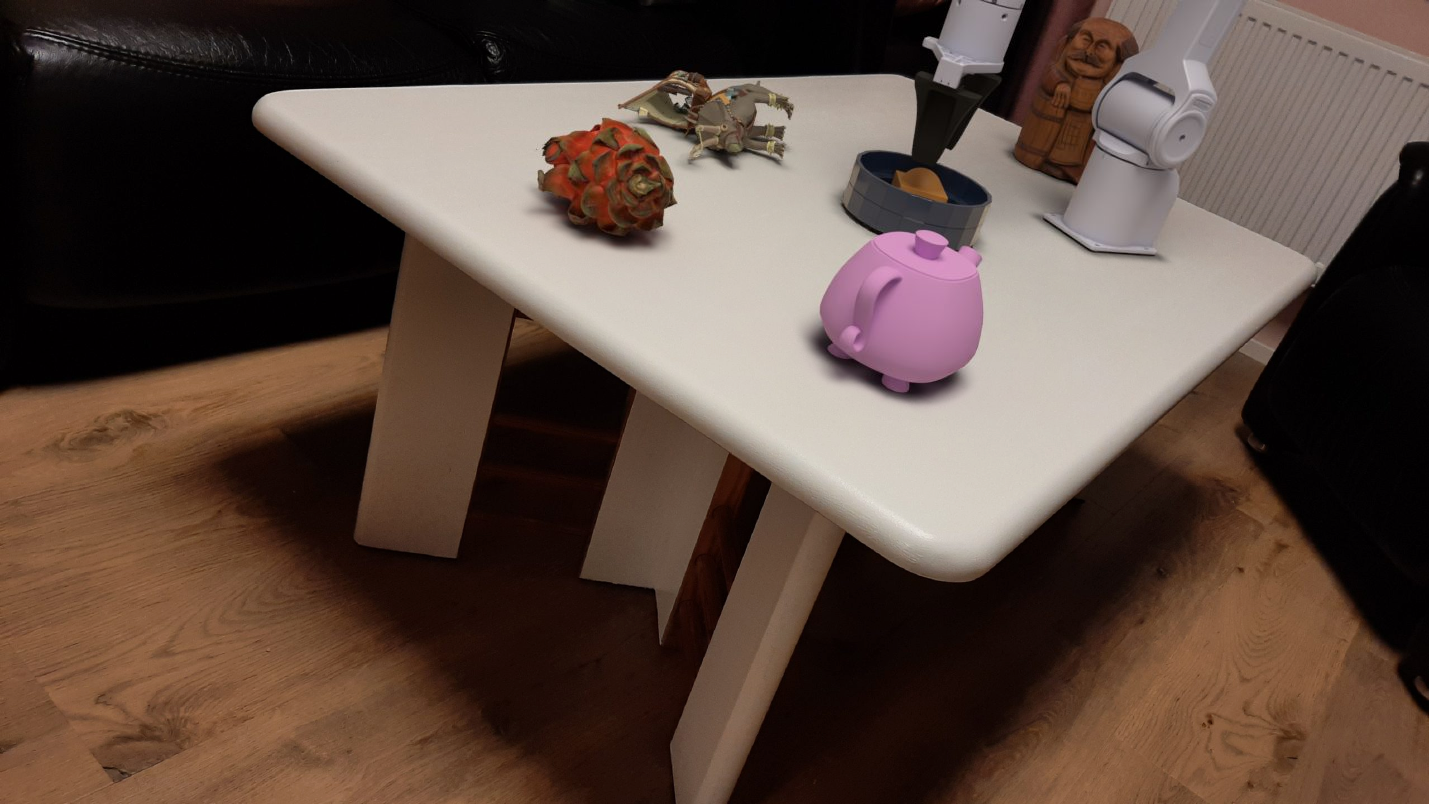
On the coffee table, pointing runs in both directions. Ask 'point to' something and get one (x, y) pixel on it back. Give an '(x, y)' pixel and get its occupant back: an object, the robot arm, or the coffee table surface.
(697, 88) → the figurine
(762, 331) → the coffee table surface
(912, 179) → the orange toy brick
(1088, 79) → the wooden figurine
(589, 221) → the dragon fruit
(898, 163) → the bowl
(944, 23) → the robot arm
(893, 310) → the teapot
